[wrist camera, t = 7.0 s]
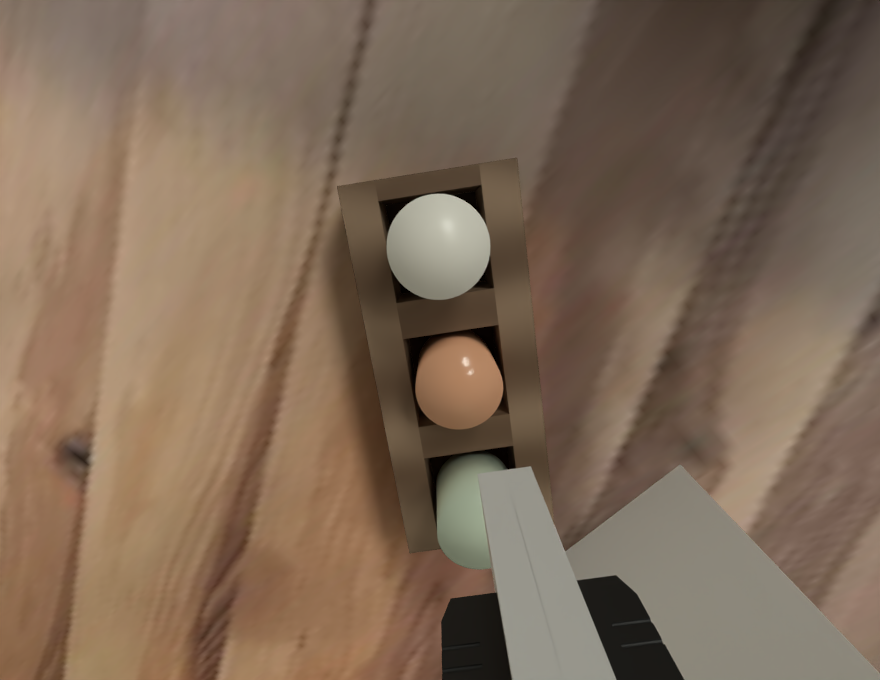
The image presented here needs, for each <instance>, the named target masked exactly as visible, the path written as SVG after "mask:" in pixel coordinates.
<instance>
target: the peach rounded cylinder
mask: <svg viewBox="0 0 880 680" xmlns="http://www.w3.org/2000/svg"><path fill="white" fill-rule="evenodd" d="M415 391H416V398H417V401H418V404H419V406H420V408H421V410H422V411H423V413H424V414H425V415H426V416H427V417H428V418H429V419H430V420H431V421H433V422H434V423H436V424H438V425H440V426H442V427H445V428H449V429H458V430H460V429H468V428H472V427H475V426H477V425H480V424H481V423H483V422H485V421H486V420H487V419H488V418H490V417H491V416H492V415H493V414H494V412H495V411H496V409H497V408H498V406H499V404H500V402H501V399H502V394H503V381H502V376H501V373H500V371H499V369H498V367H497V365H496V363H495V360H494V358H493V356H492V354H491V352H490V350H489V348H488V346H487V344H486V343H485V341H484V340H483V339H482V338H481V337H480V336H479V335H477V334H476V333H474V332H472V331H470V330H461V331H454V332H448V333H441V334H434V335H432V336H431V337H430V338H429V339H428V340H427V341H426V342H425V344H424V345H423V347H422V349H421V351H420V354H419V360H418V368H417V377H416V387H415Z"/></svg>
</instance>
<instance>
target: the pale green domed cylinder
mask: <svg viewBox="0 0 880 680" xmlns="http://www.w3.org/2000/svg"><path fill="white" fill-rule="evenodd" d="M501 470H507V468H506V466H505V465H504V463H503V462H502V461H501V460H500V459H499V458H498V457H496V456H495V455H493V454H491V453H489V452H486V451H482V450H479V451H473V452H466V453H459V454H455V455H453V456H452V457H450V458H449V459H448V460H447V461H446V462H445V463H444V464H443V465H442V467H441V468H440V470H439V473H438V475H437V482H436V491H437V538H438V542H439V545H440V547H441V549H442V551H443V552H444V554H445V555H446V556H447V557H448V558H449V559H450V560H452V561H453V562H455V563H456V564H458V565H460V566H463V567H466V568H470V569H488V568H491V562H490V556H489V549H488V543H487V536H486V529H485V522H484V515H483V508H482V502H481V495H480V488H479V481H478V474H480V473H487V472H494V471H501Z"/></svg>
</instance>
